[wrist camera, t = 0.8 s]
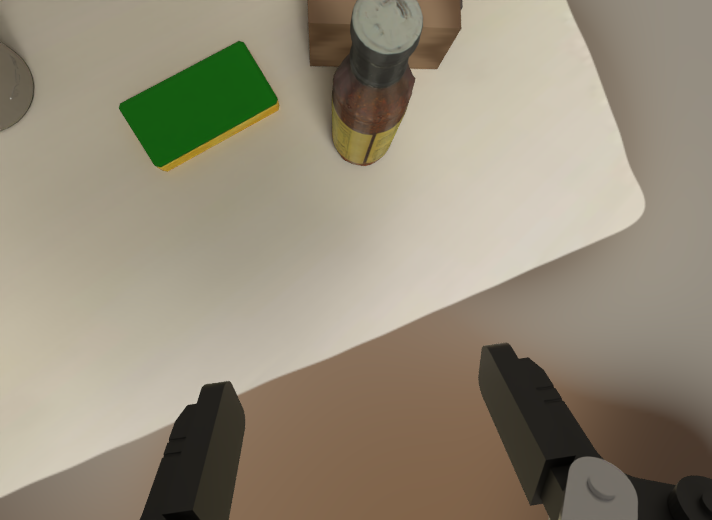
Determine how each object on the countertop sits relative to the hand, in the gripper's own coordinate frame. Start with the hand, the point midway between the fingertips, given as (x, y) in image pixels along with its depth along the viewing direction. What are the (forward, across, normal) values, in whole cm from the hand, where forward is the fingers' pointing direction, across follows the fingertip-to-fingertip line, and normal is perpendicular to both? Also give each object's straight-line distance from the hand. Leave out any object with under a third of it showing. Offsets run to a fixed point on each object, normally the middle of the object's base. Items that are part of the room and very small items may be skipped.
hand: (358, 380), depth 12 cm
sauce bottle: (+33, -3, +2) cm, 33 cm away
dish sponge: (+35, +13, -3) cm, 37 cm away
